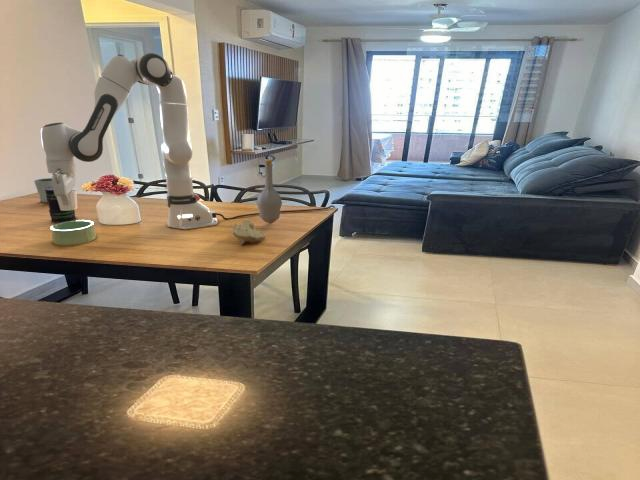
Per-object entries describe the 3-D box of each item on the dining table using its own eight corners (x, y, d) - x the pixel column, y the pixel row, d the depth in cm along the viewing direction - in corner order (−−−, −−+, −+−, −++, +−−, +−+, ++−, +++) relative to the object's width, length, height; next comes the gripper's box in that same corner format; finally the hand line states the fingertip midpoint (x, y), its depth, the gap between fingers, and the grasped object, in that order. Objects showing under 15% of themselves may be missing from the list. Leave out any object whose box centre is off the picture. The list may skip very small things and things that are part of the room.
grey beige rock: (256, 239, 164) (227, 220, 158) (267, 229, 161) (238, 209, 155) (253, 262, 152) (222, 242, 145) (265, 251, 149) (233, 230, 142)
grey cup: (59, 201, 213) (55, 180, 209) (37, 203, 208) (32, 181, 204) (60, 198, 221) (56, 177, 217) (39, 199, 216) (34, 178, 212)
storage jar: (56, 223, 173) (49, 191, 168) (47, 219, 179) (40, 188, 174) (79, 219, 181) (73, 188, 176) (71, 215, 186) (65, 185, 182)
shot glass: (69, 211, 145) (66, 193, 143) (54, 210, 147) (50, 192, 144) (83, 207, 152) (80, 190, 150) (68, 206, 153) (65, 189, 151)
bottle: (275, 228, 174) (274, 162, 164) (253, 225, 177) (251, 160, 168) (285, 222, 184) (285, 159, 174) (264, 219, 187) (262, 157, 178)
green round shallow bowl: (98, 232, 162) (95, 219, 160) (93, 243, 150) (90, 228, 148) (57, 236, 157) (55, 222, 155) (49, 247, 144) (46, 232, 142)
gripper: (65, 171, 136) (72, 208, 141) (75, 163, 154) (81, 197, 158) (44, 171, 134) (52, 210, 138) (57, 164, 152) (64, 198, 156)
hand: (68, 203), depth 149 cm, fingers closed on shot glass, 5 cm apart
